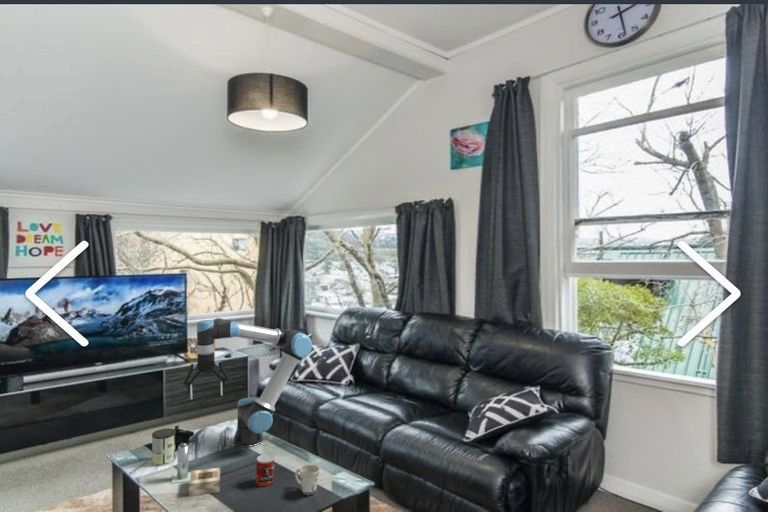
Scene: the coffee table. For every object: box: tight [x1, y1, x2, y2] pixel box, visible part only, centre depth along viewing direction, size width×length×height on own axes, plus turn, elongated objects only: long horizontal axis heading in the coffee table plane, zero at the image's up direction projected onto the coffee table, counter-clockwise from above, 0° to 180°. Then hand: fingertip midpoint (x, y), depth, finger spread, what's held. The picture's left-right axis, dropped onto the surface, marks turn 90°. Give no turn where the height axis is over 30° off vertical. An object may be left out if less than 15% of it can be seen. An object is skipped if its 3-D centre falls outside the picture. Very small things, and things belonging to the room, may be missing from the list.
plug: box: [176, 442, 190, 480], centre depth 210 cm, size 4×4×15 cm
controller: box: [173, 425, 195, 447], centre depth 243 cm, size 4×12×10 cm, turn 77°
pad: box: [171, 471, 191, 485], centre depth 210 cm, size 8×8×1 cm
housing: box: [188, 467, 221, 497], centre depth 202 cm, size 12×12×5 cm
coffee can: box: [151, 427, 176, 467], centre depth 225 cm, size 10×10×14 cm
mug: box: [294, 464, 320, 492], centre depth 201 cm, size 8×13×10 cm, turn 58°
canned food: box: [255, 453, 275, 487], centre depth 208 cm, size 8×8×11 cm
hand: (206, 396), depth 225 cm, fingers open, 13 cm apart
